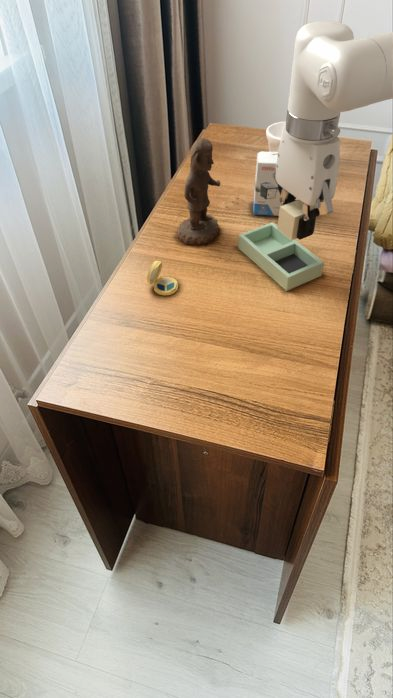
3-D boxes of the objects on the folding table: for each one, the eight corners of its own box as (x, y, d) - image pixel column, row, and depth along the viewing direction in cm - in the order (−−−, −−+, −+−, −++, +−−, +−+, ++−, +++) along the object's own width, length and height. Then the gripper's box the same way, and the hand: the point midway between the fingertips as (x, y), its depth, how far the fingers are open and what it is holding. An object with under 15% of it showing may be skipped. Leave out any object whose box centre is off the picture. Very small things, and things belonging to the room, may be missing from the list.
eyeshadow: (170, 298, 88) (168, 276, 85) (146, 290, 90) (143, 268, 86) (182, 283, 91) (181, 261, 87) (158, 276, 93) (156, 254, 89)
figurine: (204, 250, 98) (203, 151, 83) (172, 240, 100) (165, 142, 86) (225, 227, 103) (227, 131, 88) (193, 218, 106) (191, 122, 91)
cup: (257, 162, 122) (260, 124, 115) (295, 156, 123) (300, 118, 116) (271, 182, 115) (275, 142, 108) (311, 176, 117) (318, 136, 110)
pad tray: (271, 235, 101) (272, 221, 99) (321, 275, 92) (324, 262, 89) (238, 247, 98) (238, 234, 96) (286, 291, 89) (288, 277, 87)
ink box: (252, 215, 106) (256, 163, 97) (253, 203, 109) (257, 151, 101) (293, 217, 105) (301, 164, 96) (292, 204, 108) (300, 152, 100)
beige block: (314, 231, 86) (318, 208, 83) (291, 240, 84) (294, 217, 81) (299, 220, 88) (303, 197, 85) (277, 229, 87) (279, 206, 83)
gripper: (372, 138, 69) (345, 247, 83) (296, 98, 79) (283, 201, 92) (330, 152, 67) (310, 262, 80) (257, 109, 76) (250, 213, 90)
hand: (296, 228), depth 86 cm, fingers closed on beige block, 4 cm apart
